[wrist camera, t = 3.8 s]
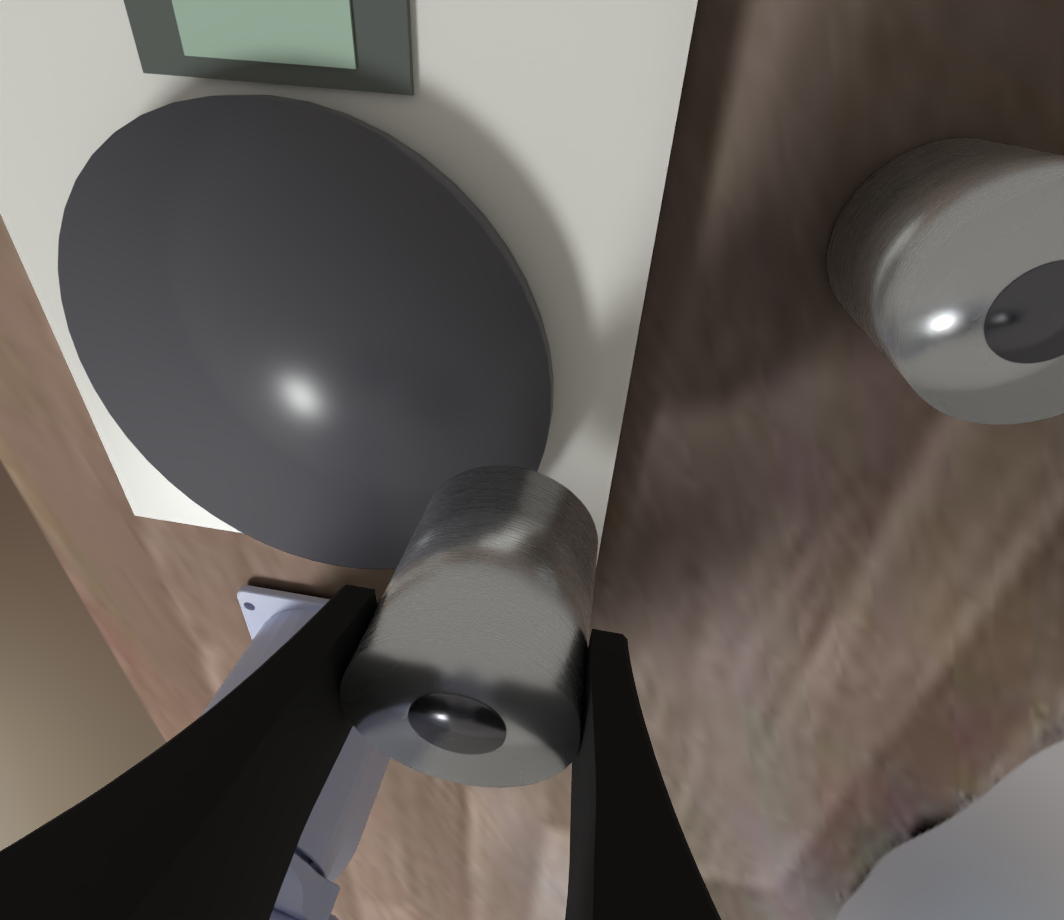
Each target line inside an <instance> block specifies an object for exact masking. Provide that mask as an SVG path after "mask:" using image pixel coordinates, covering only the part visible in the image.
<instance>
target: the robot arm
mask: <svg viewBox="0 0 1064 920" xmlns="http://www.w3.org/2000/svg"><path fill="white" fill-rule="evenodd" d="M237 597H238V600H239V603H240V606H241V609H242V612H243V615H244V618H245V621H246V623H247V626H248V629H249V632H250V635H251V638H252V642H251V643H250V645H249V646H248V647H247V649H246V650H245V652H244V653H243V655H242V656H241V658H240V659H239V661H238V662H237V664H236V665H235V666H234V668H233V669H232V671H231V672H230V674H229V675H228V677H227V678H226V680H225V681H224V682H223V684H222V685H221V687H220V688H219V690H218V691H217V693H216V694H215V696H214V697H213V698H212V700H211V701H210V703H209V704H208V706H207V707H206V709H205V710H204V712H203V713H202V714H201V716H200V717H199V718H198V719H197V720H196V721H194V722H193V723H192V724H191V725H189V726H188V727H187V728H185V729H184V730H183V731H181V732H180V733H179V734H177V735H176V736H175V737H173V738H172V739H171V740H169V741H168V742H167V743H165V744H164V745H163V746H161V747H160V748H159V749H157V750H156V751H155V752H153V753H152V754H150V755H149V756H148V757H146V758H145V759H143V760H142V761H140V762H139V763H138V764H136V765H135V766H133V767H132V768H130V769H129V770H127V771H126V772H125V773H123V774H122V775H120V776H119V777H118V778H116V779H115V780H113V781H112V782H111V783H109V784H107V785H106V786H104V787H103V788H101V789H100V790H98V791H97V792H95V793H94V794H92V795H91V796H89V797H88V798H86V799H85V800H83V801H81V802H80V803H78V804H77V805H75V806H74V807H72V808H70V809H69V810H67V811H65V812H64V813H62V814H60V815H59V816H57V817H56V818H54V819H52V820H51V821H49V822H47V823H46V824H44V825H43V826H41V827H39V828H38V829H36V830H35V831H33V832H31V833H30V834H28V835H26V836H25V837H23V838H22V839H20V840H18V841H17V842H15V843H13V844H12V845H10V846H8V847H7V848H5V849H3V850H2V851H0V920H339V919H338V918H337V917H336V916H334V915H332V914H331V911H332V909H333V906H334V903H335V901H336V898H337V895H338V892H339V890H340V887H339V885H337V884H335V883H333V881H334V880H335V879H336V878H337V877H338V876H339V875H340V874H341V873H342V871H343V870H344V869H345V867H346V866H347V865H348V863H349V862H350V860H351V858H352V857H353V855H354V853H355V851H356V849H357V846H358V844H359V841H360V839H361V836H362V833H363V830H364V828H365V825H366V822H367V820H368V817H369V814H370V811H371V809H372V806H373V803H374V800H375V798H376V795H377V792H378V790H379V787H380V784H381V781H382V779H383V776H384V773H385V771H386V768H387V765H388V762H389V760H390V757H389V756H388V755H386V754H384V753H383V752H381V751H380V750H379V749H377V748H376V747H375V746H373V745H372V744H371V743H370V742H369V741H367V740H366V739H365V738H364V737H363V736H362V735H361V734H360V733H359V732H358V731H357V729H356V728H355V727H354V726H353V724H352V723H351V722H350V720H349V719H348V717H347V715H346V713H345V711H344V709H343V706H342V703H341V699H340V684H341V680H342V678H343V675H344V673H345V671H346V669H347V667H348V665H349V663H350V661H351V659H352V657H353V655H354V653H355V651H356V649H357V647H358V645H359V643H360V641H361V639H362V637H363V635H364V633H365V631H366V629H367V627H368V625H369V623H370V621H371V619H372V617H373V615H374V613H375V611H376V609H377V604H376V595H375V590H374V589H368V588H363V587H357V586H352V585H345V586H343V587H342V588H341V589H340V590H339V591H338V592H337V593H336V594H335V595H334V596H333V597H332V598H331V599H325V598H319V597H313V596H308V595H302V594H296V593H290V592H285V591H279V590H273V589H267V588H262V587H256V586H250V585H245V586H242V587H241V589H240V590H239V591H238V593H237ZM565 920H721V918H720V916H719V914H718V912H717V910H716V908H715V905H714V903H713V901H712V899H711V897H710V894H709V892H708V890H707V888H706V885H705V883H704V881H703V879H702V877H701V874H700V872H699V870H698V867H697V865H696V863H695V860H694V858H693V856H692V853H691V851H690V849H689V846H688V844H687V841H686V839H685V837H684V834H683V832H682V829H681V827H680V824H679V821H678V819H677V816H676V814H675V811H674V808H673V806H672V803H671V800H670V797H669V795H668V792H667V789H666V786H665V784H664V781H663V778H662V775H661V772H660V769H659V766H658V763H657V760H656V757H655V754H654V751H653V748H652V744H651V741H650V738H649V734H648V731H647V728H646V725H645V721H644V718H643V714H642V710H641V707H640V703H639V699H638V695H637V690H636V686H635V682H634V677H633V673H632V668H631V663H630V656H629V650H628V642H627V639H626V637H625V636H624V635H623V634H618V633H612V632H607V631H601V630H596V629H592V632H591V636H590V641H589V645H588V653H587V663H586V674H585V685H584V699H583V711H582V721H581V732H580V743H579V748H578V751H577V754H576V756H575V758H574V759H573V761H572V787H571V827H570V866H569V883H568V897H567V907H566V917H565Z"/></svg>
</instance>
